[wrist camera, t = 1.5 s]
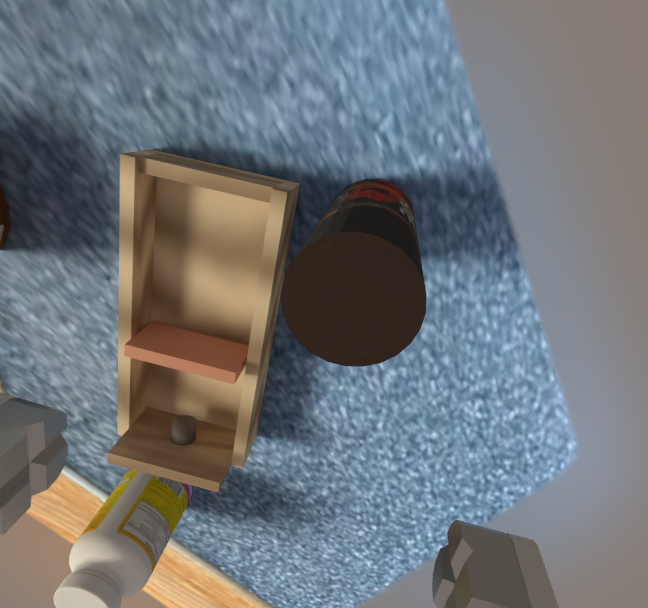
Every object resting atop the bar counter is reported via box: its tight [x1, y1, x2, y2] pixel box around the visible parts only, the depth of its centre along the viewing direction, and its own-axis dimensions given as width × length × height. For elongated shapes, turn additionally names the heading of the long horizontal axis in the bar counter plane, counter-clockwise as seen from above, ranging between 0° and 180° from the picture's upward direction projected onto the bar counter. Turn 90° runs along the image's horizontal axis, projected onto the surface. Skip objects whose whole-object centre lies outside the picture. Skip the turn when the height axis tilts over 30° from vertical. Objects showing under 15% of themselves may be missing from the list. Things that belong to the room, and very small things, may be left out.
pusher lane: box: [108, 149, 300, 492], centre depth 34 cm, size 23×11×7 cm, turn 169°
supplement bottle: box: [54, 469, 192, 608], centre depth 39 cm, size 7×7×13 cm
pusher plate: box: [124, 321, 249, 384], centre depth 34 cm, size 1×8×4 cm, turn 78°
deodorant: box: [281, 179, 426, 366], centre depth 25 cm, size 6×6×15 cm
